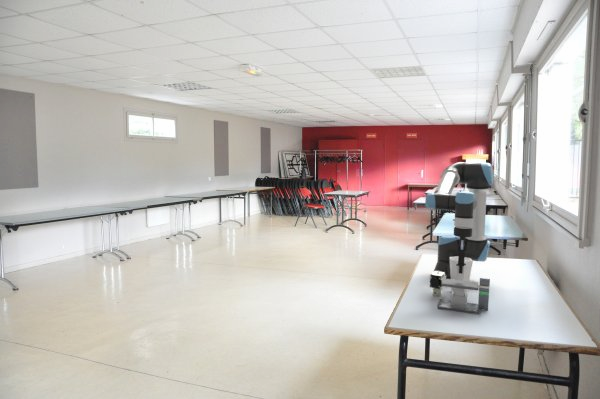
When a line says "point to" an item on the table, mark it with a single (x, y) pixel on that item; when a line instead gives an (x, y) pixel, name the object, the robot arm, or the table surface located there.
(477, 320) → the table surface
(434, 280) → the pneumatic valve
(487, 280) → the stand
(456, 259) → the cup
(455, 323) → the table surface
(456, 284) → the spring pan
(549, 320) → the table surface
